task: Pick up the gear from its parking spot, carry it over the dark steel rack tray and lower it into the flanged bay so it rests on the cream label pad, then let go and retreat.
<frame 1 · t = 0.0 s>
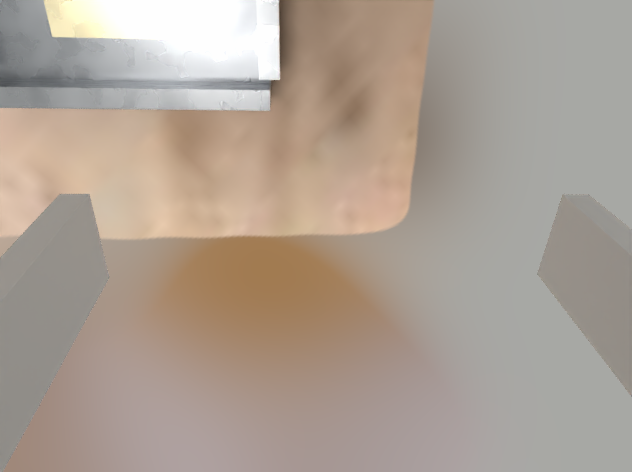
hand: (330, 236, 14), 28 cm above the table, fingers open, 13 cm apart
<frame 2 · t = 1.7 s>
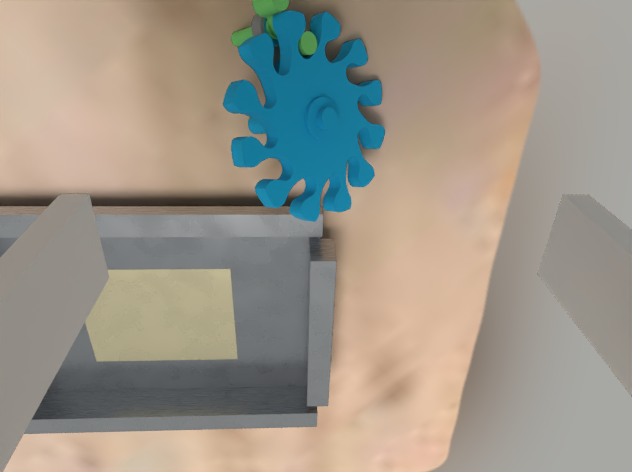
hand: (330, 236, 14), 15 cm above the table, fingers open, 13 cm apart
gear: (307, 88, 27), on the table
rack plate: (164, 303, 34), on the table
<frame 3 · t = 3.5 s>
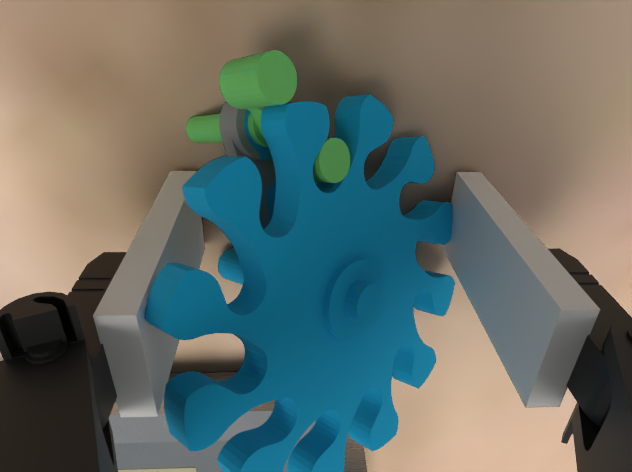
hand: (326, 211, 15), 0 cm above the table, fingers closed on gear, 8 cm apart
gear: (322, 206, 15), on the table, touching gripper
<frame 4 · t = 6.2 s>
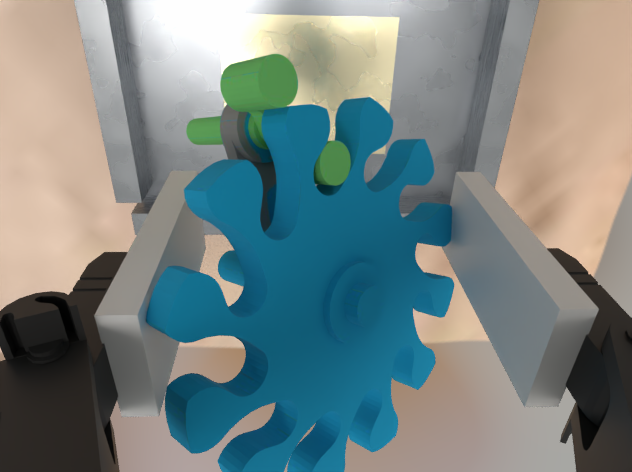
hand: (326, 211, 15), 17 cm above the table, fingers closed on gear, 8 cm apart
gear: (322, 208, 15), point 17 cm above the table, touching gripper
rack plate: (307, 83, 30), on the table
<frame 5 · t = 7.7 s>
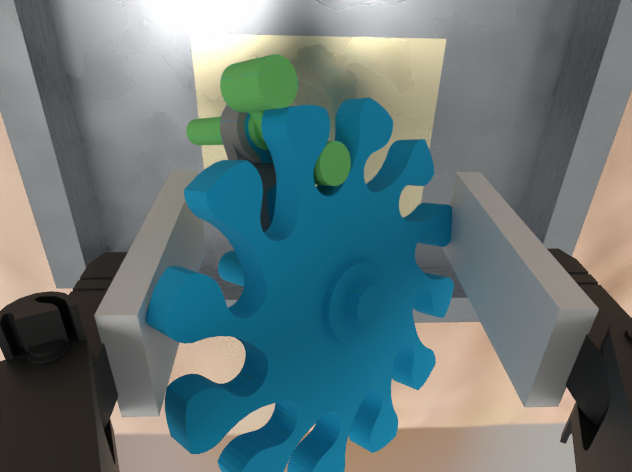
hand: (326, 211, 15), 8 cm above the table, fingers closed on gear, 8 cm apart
gear: (322, 208, 15), point 8 cm above the table, touching gripper
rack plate: (315, 124, 22), on the table
when the fingers open (3 cm above the table, at t = 9.1 s): gear drops 2 cm, resting on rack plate.
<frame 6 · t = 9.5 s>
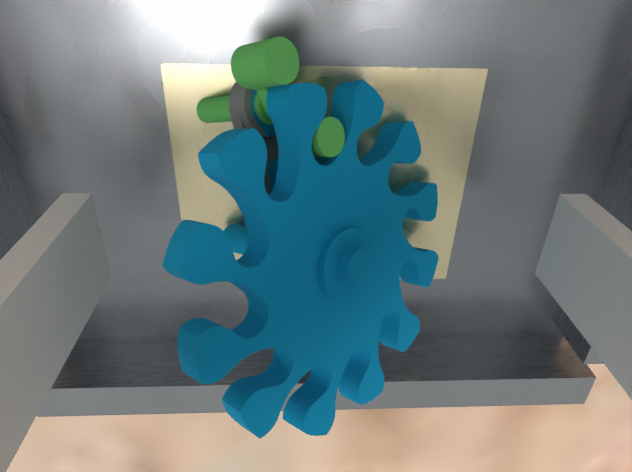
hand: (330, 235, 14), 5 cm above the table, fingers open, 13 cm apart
gear: (318, 185, 17), point 1 cm above the table, touching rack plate
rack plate: (320, 169, 18), on the table
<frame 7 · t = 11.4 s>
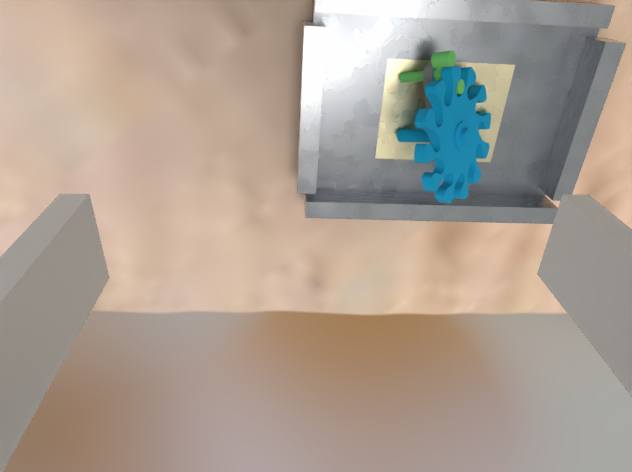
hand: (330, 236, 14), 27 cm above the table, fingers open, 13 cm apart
gear: (439, 113, 39), point 1 cm above the table, touching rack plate
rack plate: (437, 108, 40), on the table
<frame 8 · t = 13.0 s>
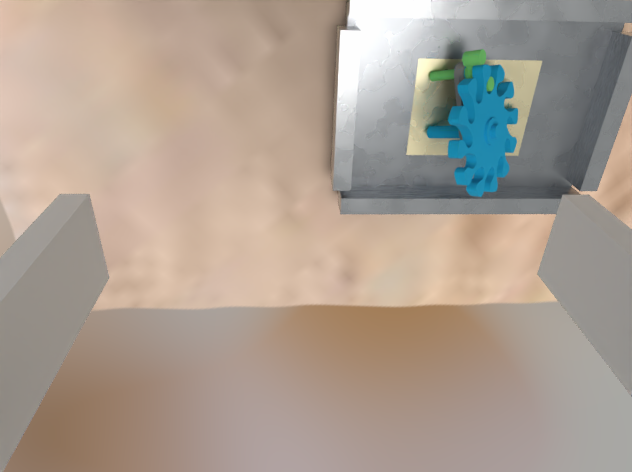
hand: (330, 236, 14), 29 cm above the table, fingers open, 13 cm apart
gear: (467, 110, 40), point 1 cm above the table, touching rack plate
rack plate: (465, 104, 41), on the table
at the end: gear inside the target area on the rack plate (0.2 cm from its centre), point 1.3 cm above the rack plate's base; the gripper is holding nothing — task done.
